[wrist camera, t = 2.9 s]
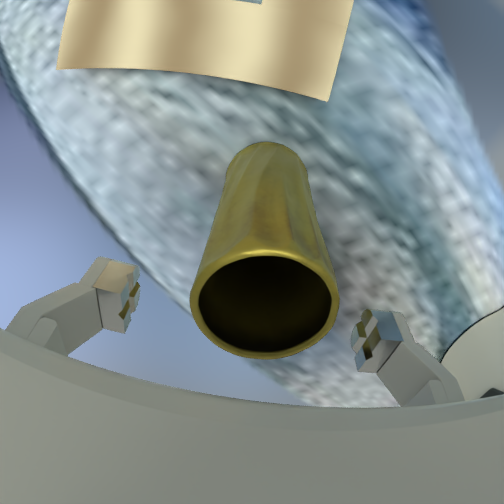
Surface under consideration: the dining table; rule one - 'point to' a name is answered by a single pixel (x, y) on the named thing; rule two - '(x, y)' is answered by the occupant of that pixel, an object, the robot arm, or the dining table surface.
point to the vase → (265, 261)
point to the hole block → (212, 39)
